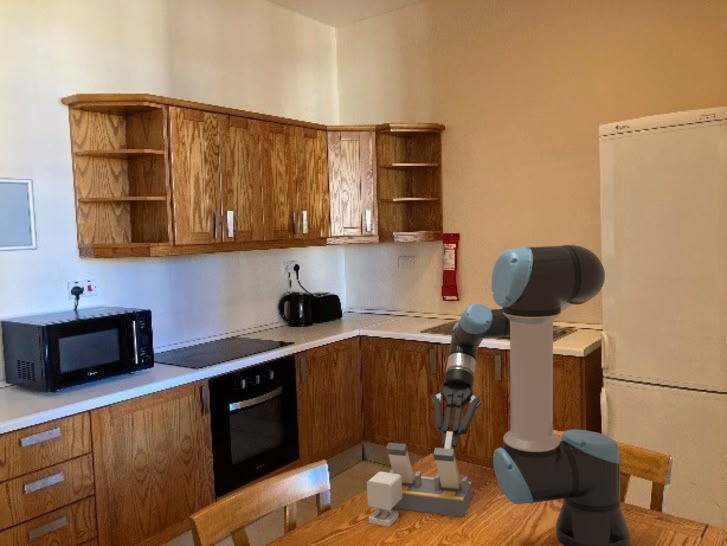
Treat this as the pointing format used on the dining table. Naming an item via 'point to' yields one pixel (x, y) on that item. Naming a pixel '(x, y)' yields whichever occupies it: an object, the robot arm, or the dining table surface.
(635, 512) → the dining table surface
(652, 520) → the dining table surface
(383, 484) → the security camera
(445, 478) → the lever
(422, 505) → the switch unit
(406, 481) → the lever
